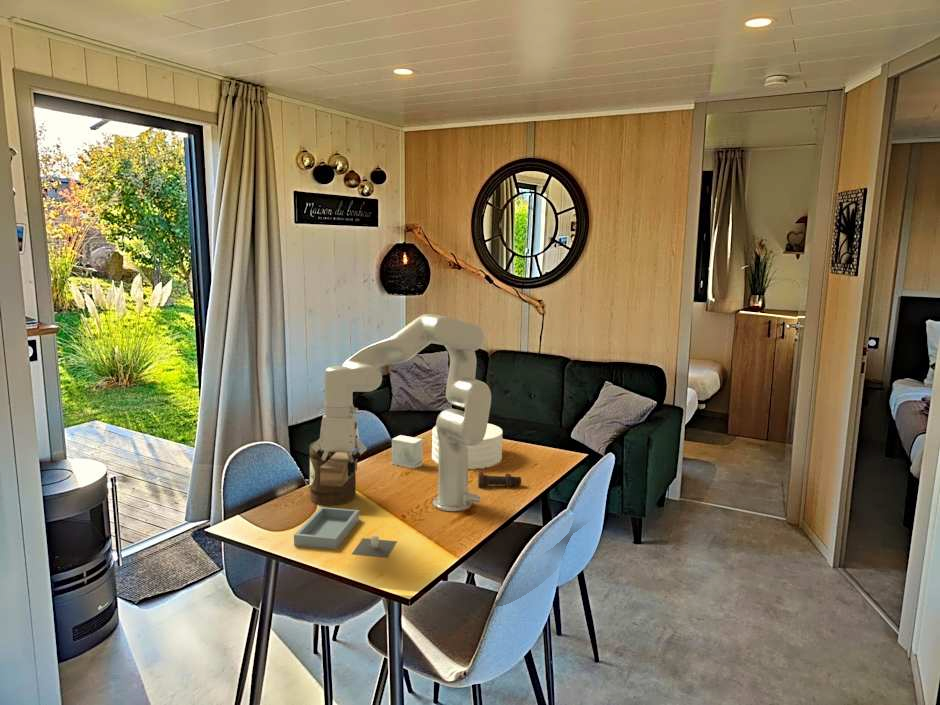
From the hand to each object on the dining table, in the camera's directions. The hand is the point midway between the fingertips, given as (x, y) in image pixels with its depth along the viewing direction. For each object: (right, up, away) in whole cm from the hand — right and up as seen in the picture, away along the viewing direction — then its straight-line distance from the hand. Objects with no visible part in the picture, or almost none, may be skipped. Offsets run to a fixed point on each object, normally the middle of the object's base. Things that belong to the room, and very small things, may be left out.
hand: (339, 473), depth 183 cm
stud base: (+10, -21, -4) cm, 24 cm away
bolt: (+47, -14, +48) cm, 68 cm away
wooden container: (-9, -14, +34) cm, 38 cm away
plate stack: (+35, -9, +79) cm, 87 cm away
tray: (-4, -19, +6) cm, 20 cm away
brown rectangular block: (0, -1, 0) cm, 1 cm away
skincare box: (+12, -10, +68) cm, 70 cm away
